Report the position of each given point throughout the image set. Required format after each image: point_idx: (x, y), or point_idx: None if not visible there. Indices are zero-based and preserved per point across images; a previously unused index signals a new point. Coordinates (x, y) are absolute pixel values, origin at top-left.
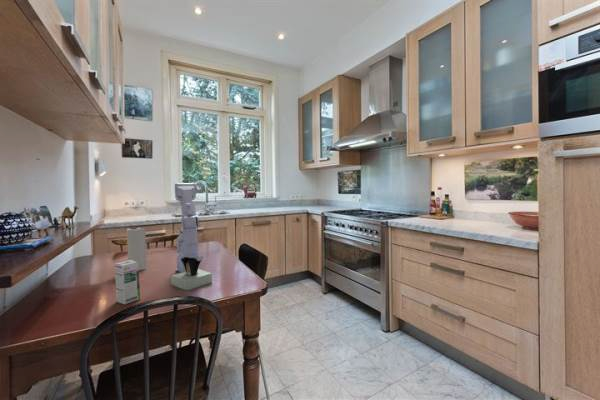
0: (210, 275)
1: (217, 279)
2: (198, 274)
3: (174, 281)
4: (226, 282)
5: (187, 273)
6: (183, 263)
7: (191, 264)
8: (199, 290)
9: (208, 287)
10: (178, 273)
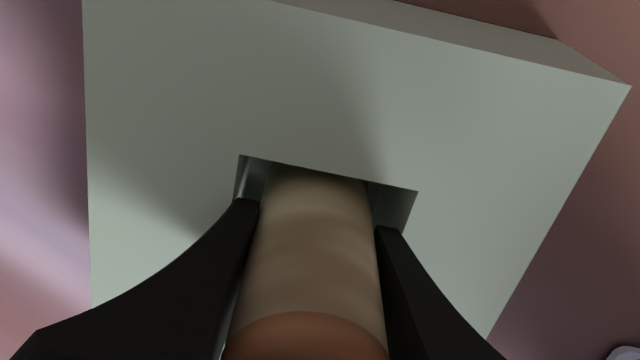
0: None
1: None
2: None
3: (491, 35)
4: (4, 307)
5: (324, 203)
6: (483, 358)
7: (75, 316)
8: (8, 26)
9: (17, 145)
10: (556, 201)
